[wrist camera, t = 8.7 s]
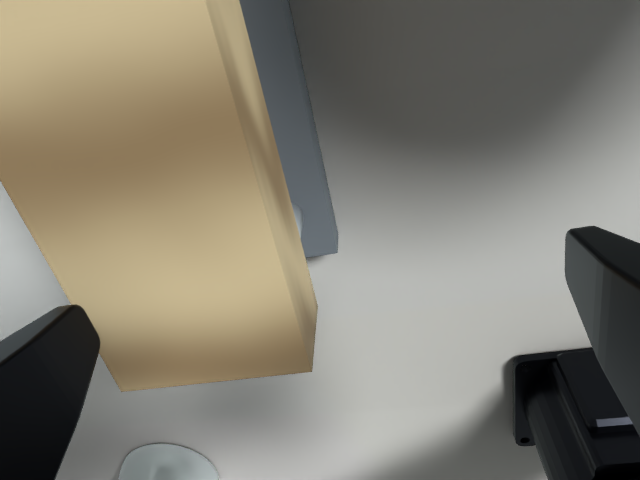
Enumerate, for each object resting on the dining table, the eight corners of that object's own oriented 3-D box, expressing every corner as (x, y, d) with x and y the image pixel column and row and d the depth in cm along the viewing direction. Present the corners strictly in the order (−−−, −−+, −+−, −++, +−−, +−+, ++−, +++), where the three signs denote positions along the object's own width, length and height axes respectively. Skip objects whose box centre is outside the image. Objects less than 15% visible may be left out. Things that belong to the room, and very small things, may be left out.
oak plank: (317, 306, 17) (312, 371, 15) (153, 326, 18) (121, 391, 16) (179, -233, 10) (122, -286, 8) (-79, -157, 11) (-208, -183, 9)
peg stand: (338, 234, 22) (334, 316, 18) (187, 256, 23) (146, 339, 19) (243, -208, 15) (193, -271, 10) (25, -146, 16) (-113, -176, 11)
